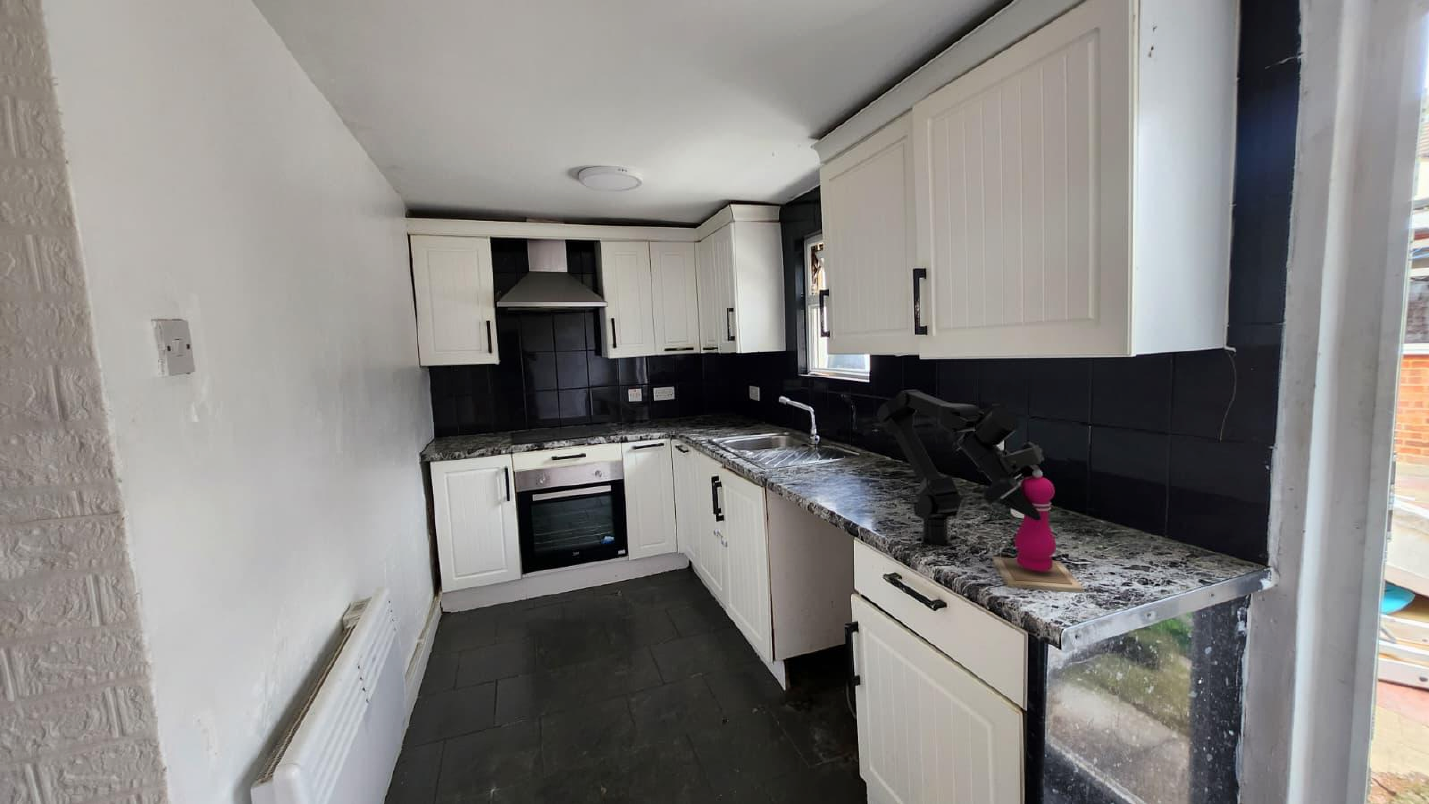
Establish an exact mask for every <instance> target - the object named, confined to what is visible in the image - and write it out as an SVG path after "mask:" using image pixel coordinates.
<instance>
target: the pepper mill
mask: <svg viewBox="0 0 1429 804" xmlns="http://www.w3.org/2000/svg"><path fill="white" fill-rule="evenodd" d="M1032 474H1033V475H1032V476H1030V477H1028V478H1026V479H1024V480H1023V481H1022V482H1021V485H1023V484H1025V495H1026V496H1027V497H1028V499H1029V500H1030V501H1031V503H1032V504H1033V505H1034V507H1035V508H1036V509H1037V511H1038V512H1039V514H1040V515H1041V517H1042V518H1041V519H1040V520H1039V521H1036V520H1034V519H1032V518H1030V517H1028V516H1026V515H1024V518H1022V523H1021V524H1020V526H1019V528H1018V530H1017V532H1016V535H1015V537H1014V546H1015V547H1016V549H1017V550H1018V552H1017V553H1016V559H1017V563H1018V564H1019V565H1020V566H1022V567H1024V568H1027V569H1031V570H1036V571H1047V570H1050V569H1052V563H1053V561H1054V560H1053V558H1052V555H1053V554H1055V552H1056V551H1057V545H1056V544H1057V543H1056V539H1055V536H1054V534H1053V532H1052V529H1051V527H1050V523H1049V512H1048V510H1049V511H1050V510H1051V509H1052V507H1051V505H1052V502H1051V501H1050V500H1052V499H1053V498H1054V496H1055V487H1054V484H1053V483H1052V481H1050V480H1049V479H1048V478H1045V477H1043V476H1044V475H1043V471H1042V470H1041V469H1040V470H1038V469H1036V470H1034V471H1033V473H1032ZM1021 485H1020V486H1021Z"/></svg>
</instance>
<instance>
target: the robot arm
mask: <svg viewBox="0 0 1429 804" xmlns="http://www.w3.org/2000/svg"><path fill="white" fill-rule="evenodd" d="M918 412H919V413H921V414H924V415H927V416H929V417H931V418H933V419H936V420H937V422H938V424H939V426H940V427H942V428H943V429H944V430H945V431H947V432H949V433H952V434H953V433H961V432H965V433H964V434H963V435H961V436H960V435H958V436H957V437H955V438H953V439H952V442H953V444H952V451H953V452H957V451H959V450H960V449H961V450H963V452H964V453H965V454H966V455H967V456H968V457H969V458H970V459H971V460H972V461H973V463H974V464H975V465H976V466H977V468H975V470H976V471H977V472H978V473H981V472H983V473H984V475H985V476H986V478H988V479H989V480H990V481H991V483H990V484H989V486H988V487H987V488H985V489H984V490H983V491H982V499H984V501H985V502H986V503H987V504H988V505H989V506H990V505H992V504H993V503H995V502H996V503H997V504H998V505H1002V506H1005V507H1007V508H1009V509H1010V510H1011V509H1013V510H1016V511H1018V512H1020V513H1022V514H1024V515H1026V516H1028V517H1030V518H1032V519H1034V520H1036V521H1039V520H1040V519H1041V518H1042V517H1041V515H1040V514H1039V512H1038V511H1037V509H1036V508H1035V507H1034V505H1033V504H1032V503H1031V501H1030V500H1029V499H1028V497H1027V496H1026V495H1025V484H1023V485H1021V482H1022V481H1023V480H1024V479H1026V478H1028V477H1032V476H1033V474H1032V473H1033V471H1034V470H1036V469H1038V470H1041V468H1040V467H1039V466H1038V465H1040V464H1041V462H1043V461H1045V458H1044V456H1043V454H1042V453H1043V448H1041V447H1039V445H1035V444H1034V443H1033V442H1031V441H1029V442H1026V443H1023V444H1022V445H1021V450H1017V451H1015V452H1010V451H1009V450H1008V449H1005V448H1004V449H1001V448H1000V447H999V445H1000V444H1001V443H1003V442H1004V441H1005V440H1006V439H1007V438H1009V437H1010V436H1012V435H1013V433H1015V432H1016V431H1017V430H1018V429H1019V427H1020V420H1019V418H1018V416H1017V415H1015V414H1014V413H1013V412H1011V411H1010V410H1009V409H1006V408H1004V407H1002V406H1001V404H1000V403H994V404H990V405H989V406H988V407H987V408H986V410H985V411H984V412H983V411H980V409H979V407H978V406H977V405H974V404H967V403H953V402H952V403H951V402H948V401H944V400H942V399H939V398H937V397H934V396H931V395H928V394H926V393H924V392H922V391H920V390H918V389H908V390H902V391H900V392H899V393H898V394H897V395H896V396H894V397H893V398H890V399H889V400H887V401H885V402H884V403H883V404H881V405H880V406H879V409H877V413H876V417H877V419H878V422H879V423H880V425H881V426H882V428H883V430H885V431H886V432H888V433H889V434H890V435H892V436H894V438H895V439H896V441H897V443H898V445H899V446H900V448H901V450H902V452H903V454H904V455H905V458H906V460H907V462H908V463H909V465H910V467H911V469H912V471H913V473H914V475H915V476H916V478H917V481H918V482H919V487H918V489H919V490H918V497H919V500H918V501H917V502H916V503H915V504H914V505H913V513H914V516H916V517H918V518H920V519H922V532H920V533H919V535H920V539H921V542H922V544H923V545H936V546H937V545H938V546H952V541H951V538H950V536H949V518H951V517H957V515H958V512H959V509H960V507H961V502H962V498H961V496H960V493H959V492H960V490H959V489H958V487H957V486H956V485H955V483H954V480H953V478H951V477H950V476H944V477H943V476H942V475H940V474H939V472H938V470H937V469H936V467H935V464H934V463H933V461H932V460H931V458H930V456H929V454H928V453H927V450H926V449H925V446H924V445H923V443H922V442H921V440H920V438H919V435H917V433H916V431H915V429H914V423H915V414H916V413H918ZM1020 485H1021V486H1020ZM999 499H1000V500H999ZM997 500H998V501H997ZM1049 512H1050V510H1048V513H1049Z"/></svg>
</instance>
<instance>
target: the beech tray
mask: <svg viewBox="0 0 1429 804" xmlns="http://www.w3.org/2000/svg"><path fill="white" fill-rule="evenodd" d="M992 562H993V564H994V565H995V568H996V569H997V570H998V572H999V574H1000V575H1001V577H1002V579H1003V580H1004V583H1005V584H1006V586H1007V587H1008V588H1013V589H1014V588H1016V589H1026V590H1027V589H1028V590H1038V591H1039V590H1041V591H1055V592H1068V593H1082V594H1085V588H1084V587H1083V585H1081V583H1080V582H1079V581H1078V580H1077V579H1076V578H1075V576H1074V575H1073V574H1072V572H1070V571H1069V570H1068V568H1067V567H1066V566H1065V565H1064V564H1063V563H1062V562H1061V561H1060V560H1053V563H1052V569H1050V570H1047V571H1036V570H1031V569H1027V568H1024V567H1022V566H1020V565H1019V564H1018V563H1017V558H1012V557H999V556H997V557H995V556H993V557H992Z"/></svg>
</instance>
